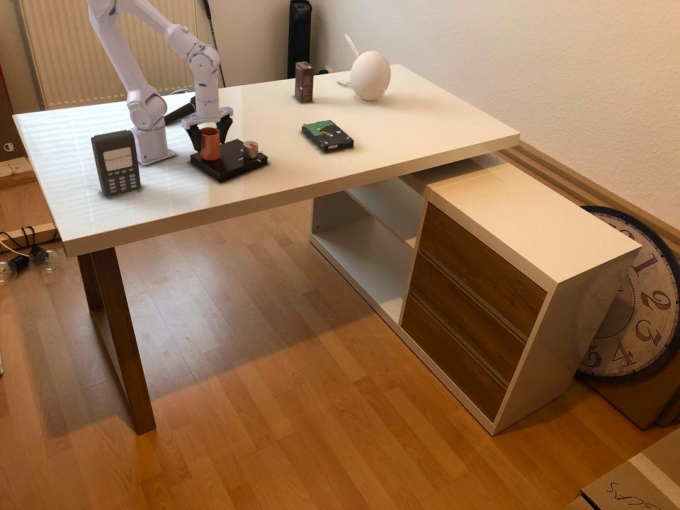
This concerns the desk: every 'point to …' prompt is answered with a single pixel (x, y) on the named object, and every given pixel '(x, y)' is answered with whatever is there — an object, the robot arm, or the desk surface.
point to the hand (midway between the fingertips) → (209, 146)
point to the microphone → (181, 111)
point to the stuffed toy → (368, 74)
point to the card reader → (116, 162)
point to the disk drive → (327, 136)
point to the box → (304, 82)
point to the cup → (210, 143)
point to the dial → (250, 149)
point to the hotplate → (229, 162)
